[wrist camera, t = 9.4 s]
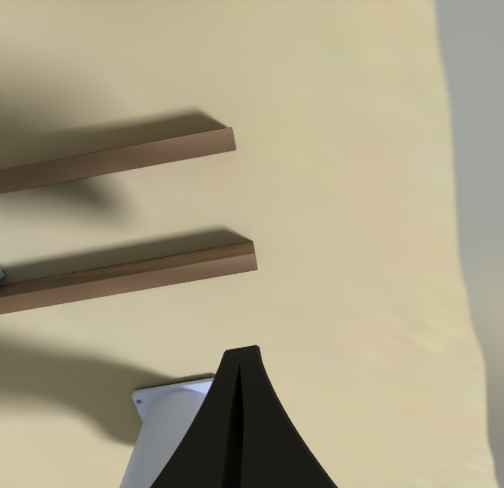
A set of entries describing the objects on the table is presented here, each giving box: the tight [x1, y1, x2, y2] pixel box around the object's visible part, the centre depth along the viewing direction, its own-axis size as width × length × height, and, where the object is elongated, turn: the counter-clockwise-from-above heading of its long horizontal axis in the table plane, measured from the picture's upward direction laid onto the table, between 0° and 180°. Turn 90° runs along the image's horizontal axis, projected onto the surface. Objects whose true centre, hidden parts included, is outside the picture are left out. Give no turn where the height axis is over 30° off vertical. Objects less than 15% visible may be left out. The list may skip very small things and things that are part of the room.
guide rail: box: [0, 127, 258, 314], centre depth 17 cm, size 9×25×4 cm, turn 100°
